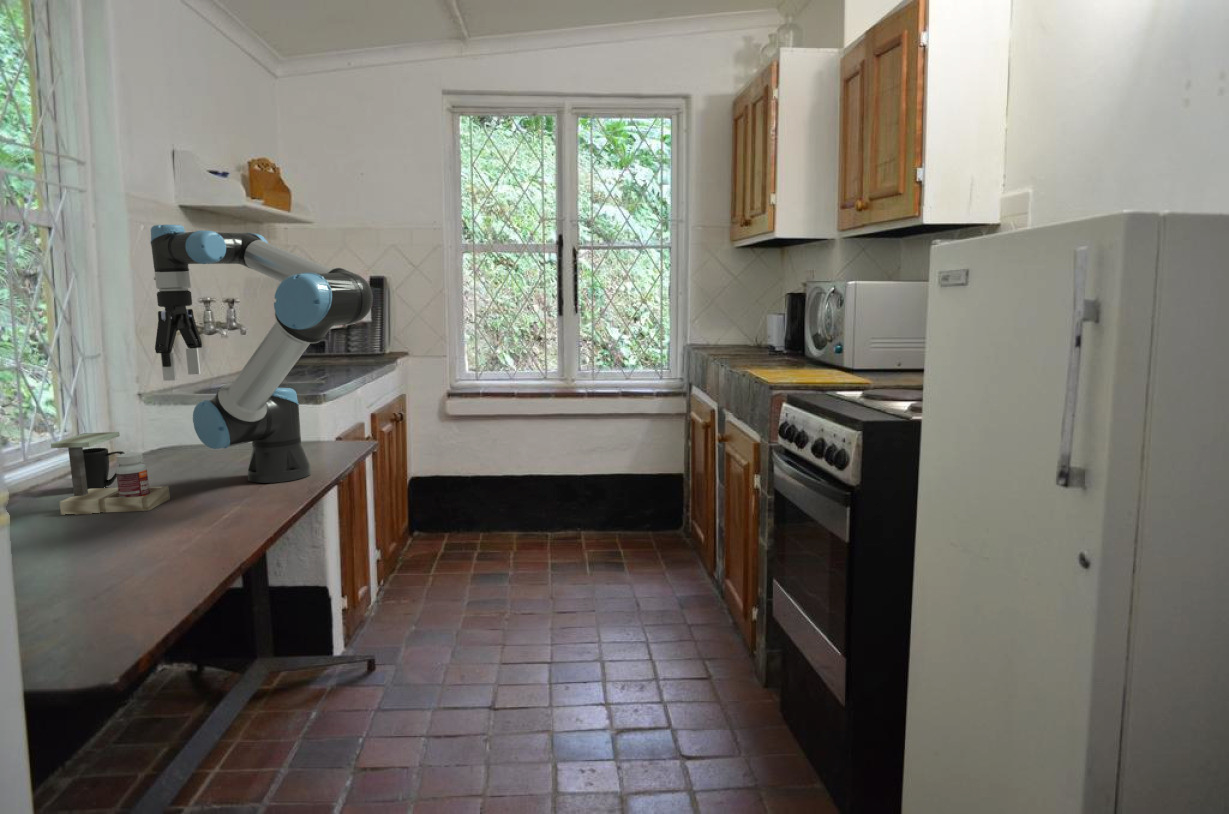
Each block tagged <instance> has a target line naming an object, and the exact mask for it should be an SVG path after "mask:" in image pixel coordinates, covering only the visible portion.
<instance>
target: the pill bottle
mask: <svg viewBox="0 0 1229 814" xmlns="http://www.w3.org/2000/svg"><path fill="white" fill-rule="evenodd" d="M124 453H125V452H124ZM143 461H144V456H143V452H139V451H136V452H135V451H134V452H126V453H125V454H117V455H116V464H117V465H118V467H116V468H115V473H116V476H117V477H116V481H117V482H116V483H117V488H118V491H119V497H139V496H146V495H148V494H150V491H149V487H150V484H149V483H150V482H149V476H148V469H147V465H146V464H145V463H143ZM119 465H120V466H119Z"/></svg>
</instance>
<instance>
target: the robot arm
mask: <svg viewBox="0 0 1229 814" xmlns="http://www.w3.org/2000/svg"><path fill="white" fill-rule="evenodd" d="M185 230H186V229H185V227H184V226H183V225H180V224H154V225H153V226H151V227H150V245H151V254H152V262H153V269H154V277H153V280H154V281H155V288H156V289H157V290H159V291H157V293H156V301H157V306H158V307H160V308H162V307H163V308H164V310H158V312H157V319H158V320H157V321H158V322H157V328H156V337H155V346H154V350H155V354H160V359H161V360H160V361H161V369H162V379H163V382H167V381H169V382H170V381H177V371H176V363H175V362H176V361H175V353H174V352H173V347H174V344H175V340H176V336H177V332H178V331H179V332H180V335H181V336H182V339H183V341H184V343H185V345H186V347H187V348H185V352H186V353H185V354H186V364H187V374H188V375H201V365H200V356H199V349H200V348H202V347H203V343H202V339H201V336H200V333H199V330H198V326H197V323H196V319H195V317H194V316H195V315H194V311H193V310H194V309H193V308H187V307H190V306H192V305H193V299H192V297H193V296H192V292H191V291H190V290H189V289H191V287H192V286H191V277H190V269H189V265H214V264H216V265H224V264H225V265H241V266H244V267H246V268H248V269H251V270H253V271H255V272H258V273H260V274H262V275H265V276H267V277H270V278H272V279H274V280H276V281H279V282H280V284H279V285H278V287H276V290H275V293H274V299H275V301H274V302H273V307H274V319H275V320H276V321H275V323H274V324H273V325H272V327H271V328H270V330H268V333H266V335H265V337H264V338H263V340H262V341H261V342H260V344H259V345H258V347H257V348H256V350H255V351H254V352H253V354H252V355H251V356H250V358H249V359H248V361H247V362H246V364H245V365H244V366H243V368H242V369H241V371H240V372H239V374H238V375H237V377H236V378H235V380H234V381H233V382H230V383H225V384H224V385H223V386H221V387H220V388H219V389H218V391H217V393H216V394H215V395H214V397H213V398H211V399H210V400H208V399H204V400H203V401H200V402H198V403H197V404H196V405H195V407H194V409H193V411H192V423H193V427H194V431H195V434H196V436H197V438H198V439H199V441H200V442H201V443H202V444H204V445H205V447H207V448H210V449H212V450H218V449H228V448H230V447H235V446H240V445H244V444H249V443H251V445H252V451H251V454H250V459H249V463H248V467H247V471H246V472H247V481H248V482H251V483H258V484H259V483H260V484H261V483H262V484H271V483H273V484H275V483H281V482H282V483H283V482H290V481H295V480H301V479H303V478H306V477H309V476H311V474H312V471H311V470H312V468H311V463H310V461H309V459H308V456H307V455H306V451H305V450H304V448H303V444H302V438H301V437H302V435H301V421H300V408H299V407H300V406H299V405H300V404H299V400H298V395H297V392H296V390H295V389H293V388H292V387H279V386H280V385H281V384H282V382H283V381H284V380H285V378H286V377H287V375H289V373H290V372H291V370H292V369H293V368H294V366H295V365H296V364H297V362H298V361H299V359H300V358H301V357H302V355H303V354H304V352H305V351H306V350H307V348H308V347H309V346H310V344H318V343H320V342H321V341H322V340H323V339H324V338H325V336H326V335H327V334H328V332H329V331H330V329H332V328H333V327H335V326H344V325H353V324H355V323H358V322H360V321H362V320H363V319H364V318H365V317H367V315H368V314H369V313H370V311H371V309H372V306H373V304H374V303H373V301H374V295H373V290H372V288H371V286H370V285H369V282H368V281H367V280H366V279H365V278H364V277H362V276H360V275H359V274H357V273H354V272H352V271H350V270H347V269H344V268H341V267H334V268H330V267H328V266H326V265H323V264H321V263H318V262H315V261H313V260H311V259H308V258H306V257H303V256H301V255H298V254H296V253H294V252H291V251H288V250H286V249H284V248H282V247H278V246H277V245H273V244H271V243H269V242H268V240H266V238H265V237H264V236H263V235H261V234H260V233H259V234H258V233H253V232H224V231H223V232H220V231H219V232H217V231H212V230H201V229H200V230H197V231H187V232H186V231H185Z"/></svg>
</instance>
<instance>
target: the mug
mask: <svg viewBox="0 0 1229 814" xmlns="http://www.w3.org/2000/svg"><path fill="white" fill-rule="evenodd" d="M114 454H117V455H120V454H125V452H124V451H121V450H117V451H112V452H109V449H108V448H106V447H93V448H92V447H91V448H90V447H88V448H83V455H84V464H85V472H86V480H87V488H88V489H96V488H104V487H106V488H107V487H109V486H111V485H112V484H113V483H114V482H115V480H117V476H116V472H115V473H114V475H113V476H112V477H111V478H110V479H108V478H109V472H110V456H112V455H114ZM119 466H120V464H118V467H119Z"/></svg>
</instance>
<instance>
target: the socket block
mask: <svg viewBox="0 0 1229 814" xmlns="http://www.w3.org/2000/svg"><path fill="white" fill-rule="evenodd" d="M119 437H120V431H109V432H106V431H103V432H84V433H83V432H82V433H80V434H76V435H74V436H70V437H67V438H65V439H62V440H58V441H55V442H52V443H50V448H51V449H66V448H68V456H69V458H68V459H69V466H70V472H71V473H70V474H71V480H72V488H73V489H72V490H73V491H72V492H73V495H71V496H70V497H68V498H67V497H66V498H64V499H63V500H60V501H59V509H60V515H61V516H66V515H65V514H75V515H93V514H92V513H99V514H100V512H103V513H121V512H122V513H123V512H125V513H126V512H127V513H128V512H146V511H151V510H152V509H155V508H156V507H158V506H160V505H162V504H163V503H165V502H167V501H169V500H170V499H171V497H170V489H169V486H168V485H167V486H149V491H150V494H148V495H146V496H139V497H119V491H118V487H106V488H96V489H88V488H87V480H86V472H85V464H84V455H83V449H84V448H90V447H92V446H93V447H94V446H96V445H98V444H101V443H104V442H107V441H111V440H113V439H115V438H119Z"/></svg>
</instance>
